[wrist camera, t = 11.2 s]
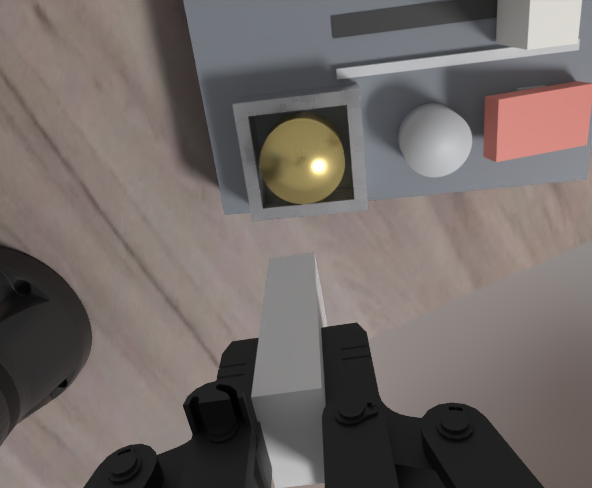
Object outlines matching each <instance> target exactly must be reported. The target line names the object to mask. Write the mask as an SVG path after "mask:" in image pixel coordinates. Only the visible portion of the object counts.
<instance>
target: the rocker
mask: <svg viewBox="0 0 592 488" xmlns="http://www.w3.org/2000/svg"><path fill="white" fill-rule="evenodd" d="M591 106H592V83H588V82H580V81H574V82H569V83H563V84H557V85H551V86H548V87H539V88H533V89H527V90H521V91H515V92H509V93H503V94H497V95H492V96H486V97H485V116H484V149H483V157H485V158H487V159H490V160H492V161H494V162H500V161H506V160H511V159H516V158H521V157H527V156H532V155H537V154H542V153H548V152H553V151H558V150H563V149H569V148H574V147H579V146H585V145H587V141H588V132H589V124H590V115H591Z"/></svg>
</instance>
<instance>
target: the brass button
mask: <svg viewBox="0 0 592 488" xmlns="http://www.w3.org/2000/svg"><path fill="white" fill-rule="evenodd" d="M344 169H345V157H344V150H343V144H342V139H341V136H340V134H339V132H338V130H337V129H336V127H335V126H334V125H333V124H332V123H331V122H330V121H329V120H328V119H327V118H325V117H324V116H322V115H320V114H317V113H314V112H308V111H299V112H294V113H291V114H288V115H286V116H284V117H283V118H281V119H280V120H278V121H277V122H276V123H275V124H274V126H273V127H272V128H271V130H270V132H269V134H268V136H267V138H266V140H265V143H264V145H263V147H262V150H261V154H260V170H261V174H262V177H263V179H264V181H265V183H266V185H267V186H268V187H269V189H270V190H271V191H272V192H273V193H274V194H275V195H277V196H278V197H280V198H281V199H283V200H285V201H288V202H291V203H296V204H309V203H314V202H317V201H320V200H322V199H324V198H326V197H327V196H328V195H330V194H331V193H332V192H333V191H334V190H335V189H336V188H337V186H338V185H339V183H340V181H341V179H342V177H343V173H344Z"/></svg>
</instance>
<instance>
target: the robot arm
mask: <svg viewBox="0 0 592 488" xmlns="http://www.w3.org/2000/svg"><path fill="white" fill-rule="evenodd" d="M91 344H92V332H91V326H90V321H89V318H88V315H87V313H86V310H85V308H84V306H83V304H82V303H81V301H80V299H79V298H78V296H77V295H76V293H75V292H74V291H73V290H72V288H71V287H70V286H69V285H68V284H67V283H66V282H65V281H64V280H63V279H62V278H61V277H60V276H59V275H58V274H56V273H55V272H54V271H53V270H51V269H50V268H48V267H47V266H45V265H44V264H42V263H41V262H39V261H37V260H35V259H33V258H31V257H29V256H27V255H24V254H22V253H19V252H16V251H13V250H10V249H6V248H1V247H0V446H1V445H2V443H3V442H4V440H5V439H6V437H7V436H8V435H9V433H10V432H11V431H12V430H13V428H14V427H15V426H16V425H17V424H18V423H20V422H21V421H22V420H24V419H25V418H27V417H28V416H30V415H31V414H33V413H34V412H35V411H37V410H38V409H40V408H41V407H43V406H44V405H46V404H47V403H49V402H50V401H51V400H53V399H54V398H56V397H57V396H59V395H60V394H61V393H63V392H64V391H65V390H66V389H67V388H68V387H69V386H70V385H71V384H72V382H73V381H74V380H75V378H76V377H77V375H78V374H79V372H80V371H81V369H82V368H83V366H84V365H85V363H86V361H87V359H88V357H89V354H90V350H91ZM219 368H220V369H219V370H218V374H217V380H216V381H215V382H211V383H207V384H205V385H203V386H201V387H199V388H197V389H195V390H194V391H193V392H192V393H191V394H190V395H189V396H188V397H187V399H186V400H185V402H184V404H183V408H184V410H185V413H186V416H187V419H188V422H189V425H190V428H191V431H192V434H193V435H192V439H191V440H190V441H188V442H187V443H185V444H183V445H181V446H179V447H177V448H174V449H172V450H169V451H166V452H164V453H161V454H159V455H156V452H155V451H154V450H153V449H152V448H151V447H150V446H147V445H144V444H135V445H129V446H126V447H123V448H121V449H118V450H117V451H115V452H114V453H112V454H111V455H109V456H108V457H107V458H106V459H105V460H104V461H103V462H102V463H101V464H100V465H99V466H98V468H97V469H96V471H95V472H94V473H93V475H92V476H91V478H90V479H89V481H88V482H87V483H86V485H85V486H84V488H271V480H272V477H273V480H274V484H275V488H284V487H293V486H301V485H310V484H318V483H325V488H544V487H543V486H542V485H541V483H540V482H539V481H538V480H537V479H536V477H535V476H534V475H533V474H532V473H531V472H530V470H529V469H528V468H527V467H526V465H525V464H524V463H523V462H522V460H521V459H520V458H519V457H518V456H517V454H516V453H515V452H514V451H513V449H512V448H511V447H510V446H509V445H508V443H507V442H506V441H505V440H504V439H503V437H502V436H501V435H500V434H499V433H498V431H497V430H496V429H495V428H494V427H493V425H492V424H491V423H490V422H489V420H488V419H487V418H486V417H485V416H484V415H483V414H482V413H480V412H479V411H478V410H477V409H475V408H472V407H470V406H468V405H465V404H459V403H446V404H439V405H437V406H435V407H433V408H432V409H429V410H428V411H427V413H426V414H425V415H424V416H423V417H422V418H417V417H410V416H405V415H401V414H398V413H396V412H394V411H392V410H391V409H389V408H387V407H386V406H385V404H384V403H383V402H382V401H381V398H380V396H379V392H378V387H377V383H376V377H375V372H374V367H373V362H372V358H371V353H370V347H369V342H368V337H367V332H366V331H365V330H364V329H363V328H362V327H361V326H360V325H359V324H358V323H350V324H343V325H336V326H329V327H327V320H326V314H325V309H324V303H323V297H322V292H321V286H320V280H319V275H318V269H317V264H316V258H315V252H312V253H306V254H299V255H293V256H286V257H280V258H273V259H269V265H268V272H267V280H266V287H265V295H264V303H263V310H262V318H261V325H260V333H259V338H253V339H246V340H239V341H232V342H231V344H230V345H229V346H228V347H227V349H226V350H225V351H224V352H223V354H222V357H221V362H220V366H219Z"/></svg>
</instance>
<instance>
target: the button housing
mask: <svg viewBox="0 0 592 488" xmlns="http://www.w3.org/2000/svg"><path fill="white" fill-rule="evenodd" d="M341 105H346V114H347V127H348V139H349V152H350V164H351V176H352V187H345V188H336V189H335V190H334V191H333V192H332V193H331V194H330V195H328V196H327V197H326V198H324V199H322V200H320V201H317V202H314V203H309V204H296V203H291V202H288V201H285V200H283V199H281V198H280V197H278V196H277V195H266V189H265V182H264V179H263V177H262V174H261V170H260V150H259V143H258V137H257V130H256V124H255V117H254V116H256V115H264V114H273V113H281V112H290V111H299V110H307V109H316V108H324V107H333V106H341ZM232 106H233V112H234V118H235V123H236V129H237V135H238V141H239V147H240V153H241V159H242V165H243V170H244V176H245V182H246V188H247V194H248V200H249V206H250V211H251V217H252V221H262V220H273V219H283V218H293V217H304V216H314V215H324V214H334V213H345V212H355V211H365V210H368V200H367V185H366V171H365V156H364V141H363V127H362V112H361V97H360V88H359V86H358V84H357V83H354V84H345V85H337V86H329V87H320V88H312V89H304V90H296V91H287V92H279V93H271V94H262V95H254V96H246V97H238V99H237V100H236V101H235V102H234V103H233V104H232Z"/></svg>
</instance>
